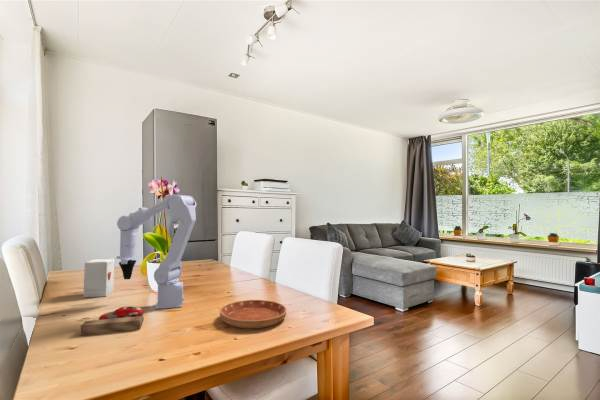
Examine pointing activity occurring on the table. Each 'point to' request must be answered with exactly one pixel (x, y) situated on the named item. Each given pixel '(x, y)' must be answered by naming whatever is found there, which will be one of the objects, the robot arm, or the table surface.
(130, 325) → the chock stand
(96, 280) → the supplement box
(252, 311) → the saucer
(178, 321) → the table surface
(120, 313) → the race car
